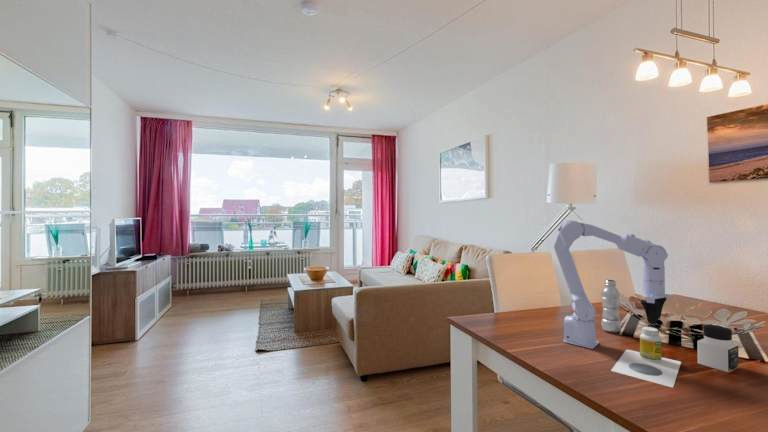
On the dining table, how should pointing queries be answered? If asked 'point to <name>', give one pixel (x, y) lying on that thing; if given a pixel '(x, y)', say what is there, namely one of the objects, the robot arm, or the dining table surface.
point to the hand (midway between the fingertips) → (654, 320)
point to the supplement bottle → (650, 345)
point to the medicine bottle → (718, 348)
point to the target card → (648, 368)
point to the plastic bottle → (610, 307)
